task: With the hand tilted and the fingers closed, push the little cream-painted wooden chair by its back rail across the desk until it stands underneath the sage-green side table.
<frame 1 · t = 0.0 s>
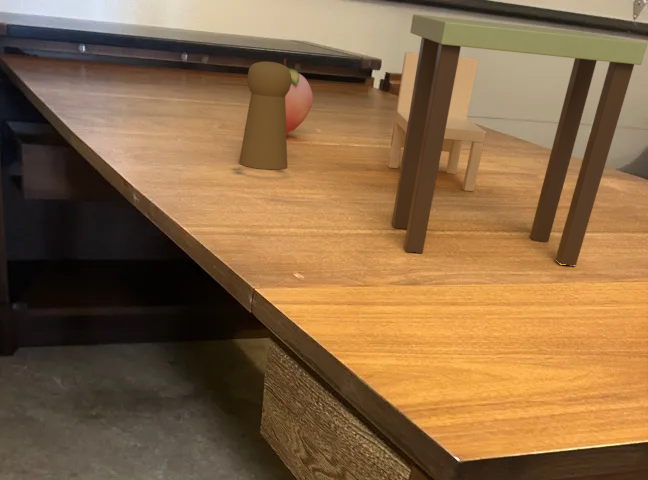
side table: (474, 238, 79), on the table
cork: (263, 165, 101), on the table
chair: (428, 178, 103), on the table
decorative fruit: (276, 138, 120), on the table
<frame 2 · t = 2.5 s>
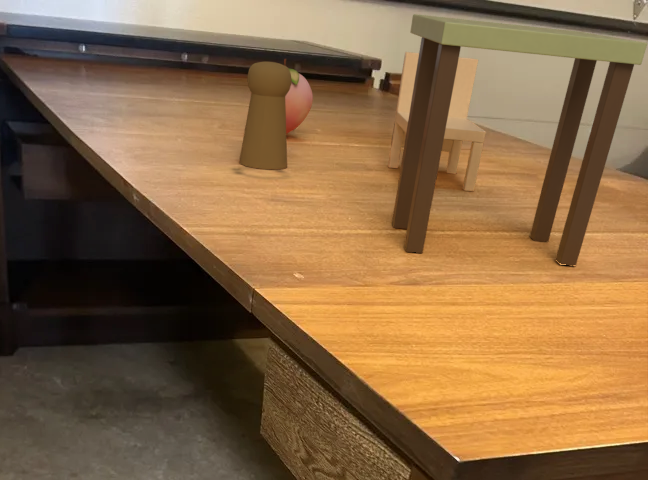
nothing on the table moved.
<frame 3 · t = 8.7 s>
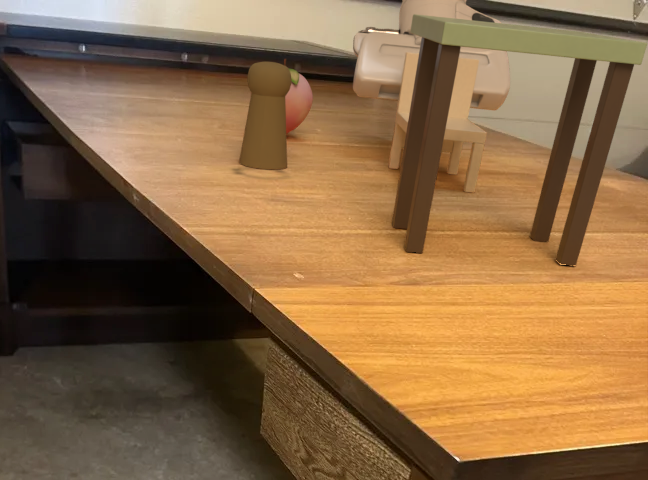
hand: (429, 127, 105), 5 cm above the table, tool tilted 45°, fingers closed, pressing on chair
chair: (429, 179, 103), on the table, touching gripper
everything else where it was.
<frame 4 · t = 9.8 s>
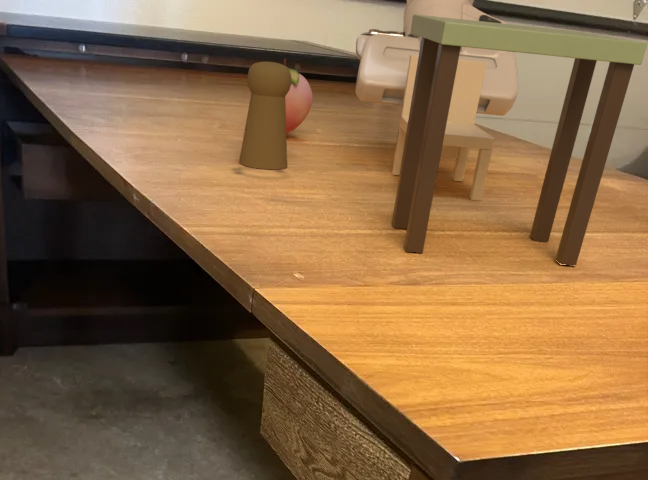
hand: (434, 133, 102), 5 cm above the table, tool tilted 45°, fingers closed, pressing on chair
chair: (434, 186, 99), on the table, touching gripper
everything else where it was.
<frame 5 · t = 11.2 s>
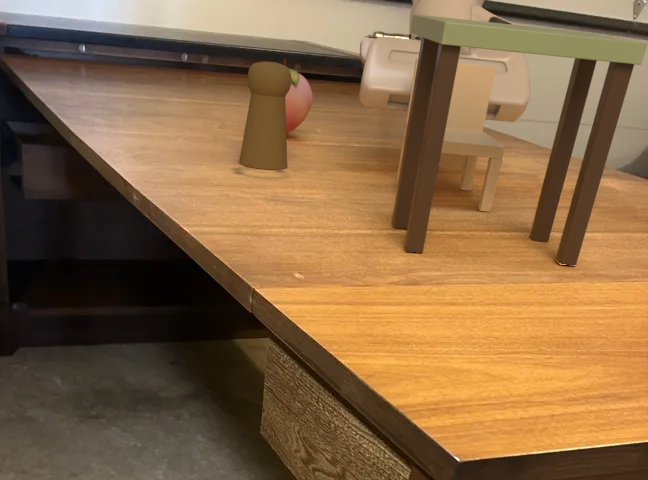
hand: (442, 141, 97), 5 cm above the table, tool tilted 45°, fingers closed, pressing on chair
chair: (441, 196, 94), on the table, touching gripper
everything else where it was.
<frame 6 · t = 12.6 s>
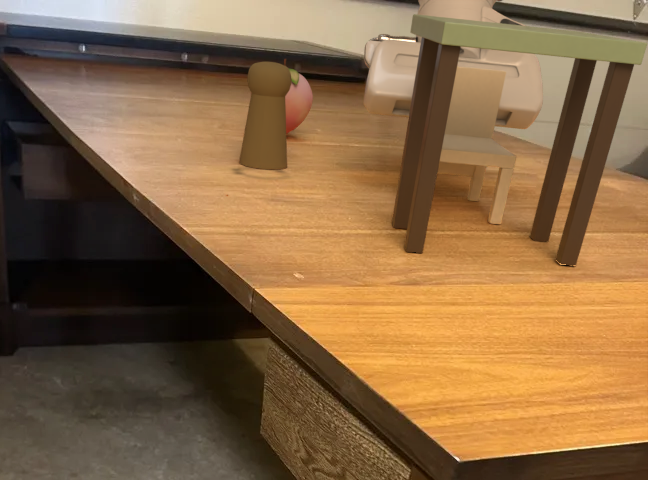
hand: (451, 149, 93), 5 cm above the table, tool tilted 45°, fingers closed, pressing on chair
chair: (448, 207, 90), on the table, touching gripper
everything else where it was.
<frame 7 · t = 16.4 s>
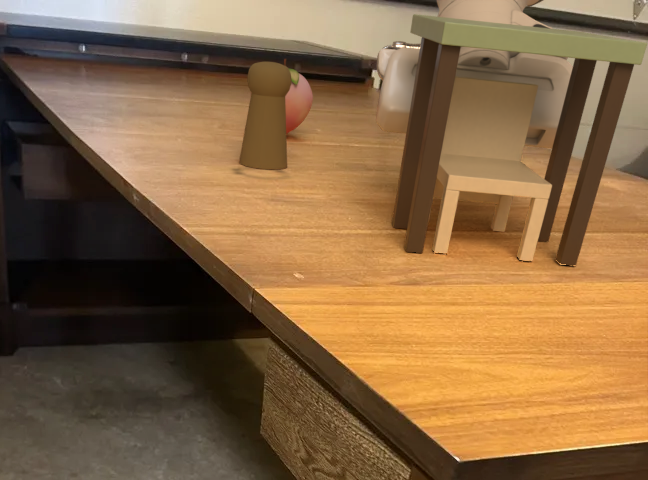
hand: (476, 172, 81), 5 cm above the table, tool tilted 45°, fingers closed, pressing on chair
chair: (470, 240, 78), on the table, touching gripper
everything else where it was.
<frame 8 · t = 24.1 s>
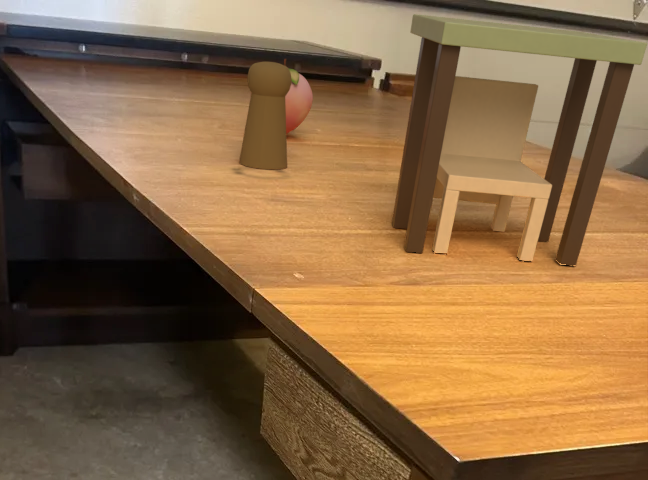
chair: (470, 240, 78), on the table
everything else where it was.
at the end: chair 0.9 cm off-centre on the side table, point 0.0 cm above the side table's base; chair tilted 0°; the gripper is holding nothing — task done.
